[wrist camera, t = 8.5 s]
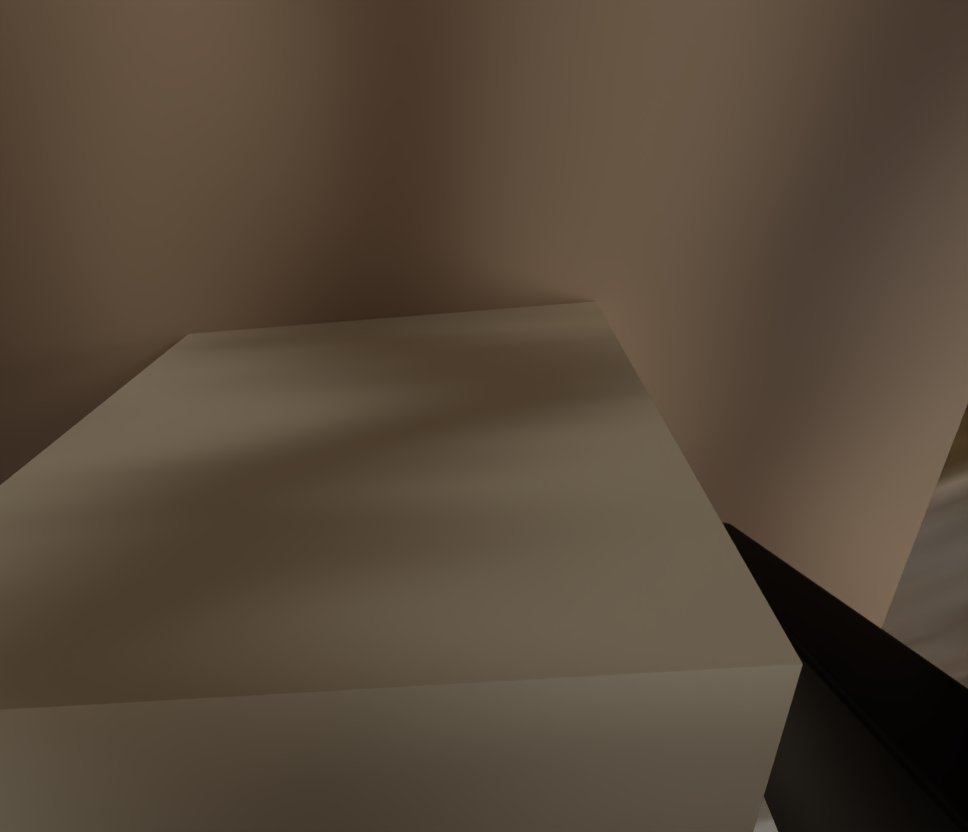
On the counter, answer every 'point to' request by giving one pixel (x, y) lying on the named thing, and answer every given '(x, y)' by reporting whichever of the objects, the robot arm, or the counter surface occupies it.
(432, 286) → the wooden board
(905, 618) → the counter surface
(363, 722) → the maple cube
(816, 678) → the robot arm
